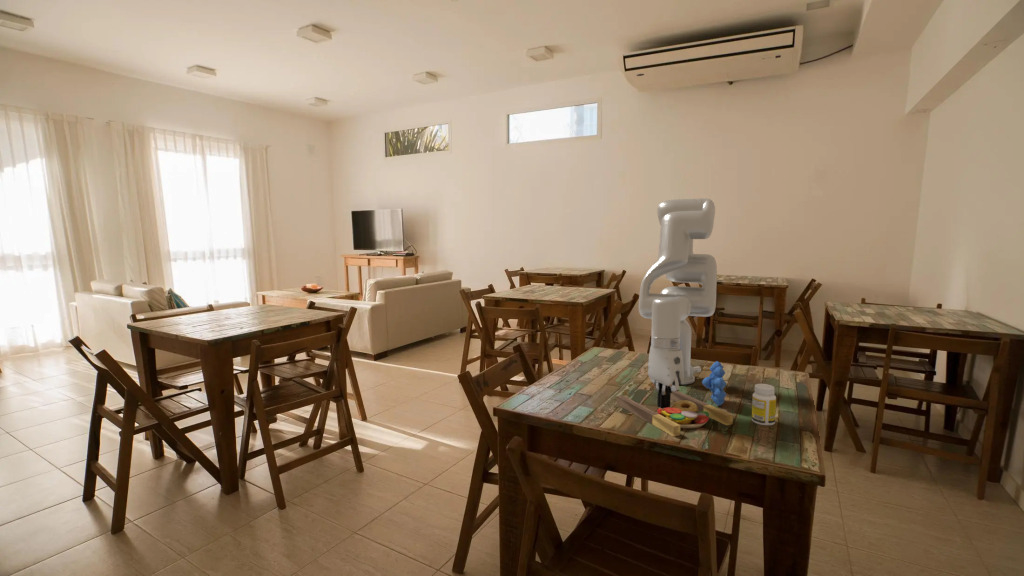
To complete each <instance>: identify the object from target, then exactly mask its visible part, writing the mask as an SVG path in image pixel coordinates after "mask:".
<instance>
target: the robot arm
mask: <svg viewBox="0 0 1024 576" xmlns="http://www.w3.org/2000/svg"><path fill="white" fill-rule="evenodd" d="M656 210H657V211H656V213H657V214H656V215H657V219H658V222H659V225H660V233H659V243H658V244H659V245H658V257H657V260H656V262H654V264H652V265H651V266H650V267H649V268H648V270H647V271H646V273H644V276H643V278H642V280H641V283H640V288H639V296H638V313H639V315H640V316H641V317H642V318H644V319H649V320H651V333H650V334H651V337H650V338H651V339H650V348H649V354H648V363H647V375H648V378H650V382H652V384H654V386H655V391H656V393H657V401H656V402H657V404H656V405H657V407H658V408H662V409H663V408H666V407H671V394H672V392H673V391H674V392H676V391H679V392H680V385H681V386H682V385H690V384H693V383H695V381H696V380H695V379H696V378H695V376H694V375H693V374H694V373H699V372H701V371H702V368H701V366H699V365H697V366H693V365H691V352H692V349H691V347H692V328H691V325H690V324H689V322H688V321H687V318H688V317H690V316H691V317H711V316H713V315H714V313H715V311H716V306H717V305H716V304H717V280H718V279H717V278H718V276H717V275H718V270H717V269H718V267H717V261H716V258H715V257H714V255H712V254H707V253H694V252H693V251H694V250H693V248H694V240H707V239H708V238H710V237H711V235H712V233H713V229H714V223H715V222H714V221H715V214H716V206H715V202H714V201H713V200H712V199H711V198H679V199H667V200H665V201H662V202H659V203H658V206H657V209H656ZM664 275H665V278H666V279H667V280H668V281H669V282H672V283H673V282H674V283H687V284H691V283H692V284H699V285H701V287H699V286H697V287H695V286H677V285H676V286H667V287H665V288H663V289H661V291H660V292H659V293H655V292H654V293H651V287H652V285H653V284H654V282H655V281H656V280H658V279H659V278H661V277H662V276H664Z"/></svg>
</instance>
